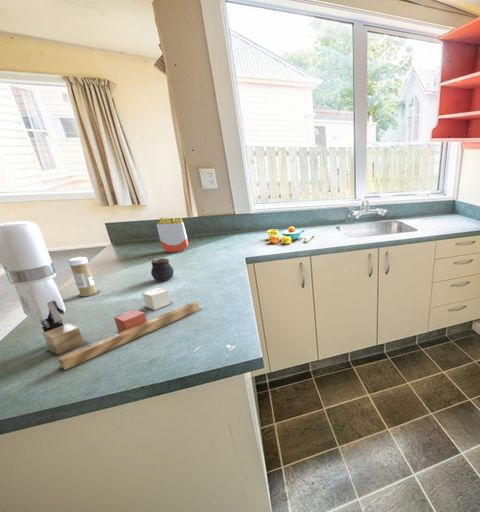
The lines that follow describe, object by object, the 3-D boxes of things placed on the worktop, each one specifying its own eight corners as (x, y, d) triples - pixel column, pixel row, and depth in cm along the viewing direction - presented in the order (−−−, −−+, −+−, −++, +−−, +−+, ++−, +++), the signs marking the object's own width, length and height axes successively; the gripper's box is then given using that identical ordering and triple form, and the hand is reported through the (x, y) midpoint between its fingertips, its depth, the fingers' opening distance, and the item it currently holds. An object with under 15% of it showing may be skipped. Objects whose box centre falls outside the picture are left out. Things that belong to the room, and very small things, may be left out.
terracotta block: (128, 337, 80) (123, 321, 79) (118, 332, 82) (113, 317, 81) (148, 328, 85) (144, 313, 83) (139, 324, 87) (134, 309, 85)
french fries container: (165, 250, 155) (157, 216, 150) (189, 248, 159) (182, 215, 154) (163, 253, 151) (155, 218, 146) (188, 250, 155) (181, 217, 150)
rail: (65, 369, 68) (61, 360, 67) (61, 367, 69) (57, 358, 68) (199, 309, 95) (198, 302, 95) (195, 308, 96) (194, 301, 95)
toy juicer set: (265, 245, 166) (264, 232, 164) (268, 238, 183) (267, 225, 180) (317, 242, 173) (316, 229, 171) (315, 235, 190) (315, 223, 188)
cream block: (154, 310, 95) (151, 296, 93) (145, 306, 97) (142, 293, 95) (171, 303, 99) (167, 290, 98) (162, 300, 101) (158, 287, 100)
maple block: (58, 355, 73) (51, 337, 71) (49, 349, 75) (42, 332, 73) (84, 344, 77) (78, 327, 76) (75, 339, 79) (69, 323, 78)
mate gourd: (174, 280, 118) (169, 256, 115) (150, 284, 114) (144, 259, 111) (175, 274, 124) (170, 251, 121) (153, 277, 120) (147, 254, 117)
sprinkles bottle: (100, 292, 107) (89, 257, 103) (85, 297, 103) (73, 261, 98) (91, 290, 108) (80, 255, 104) (76, 295, 104) (64, 259, 100)
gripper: (-4, 273, 72) (24, 338, 77) (22, 284, 66) (50, 353, 71) (40, 264, 78) (63, 324, 84) (67, 272, 72) (90, 337, 78)
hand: (57, 337), depth 78 cm, fingers closed
